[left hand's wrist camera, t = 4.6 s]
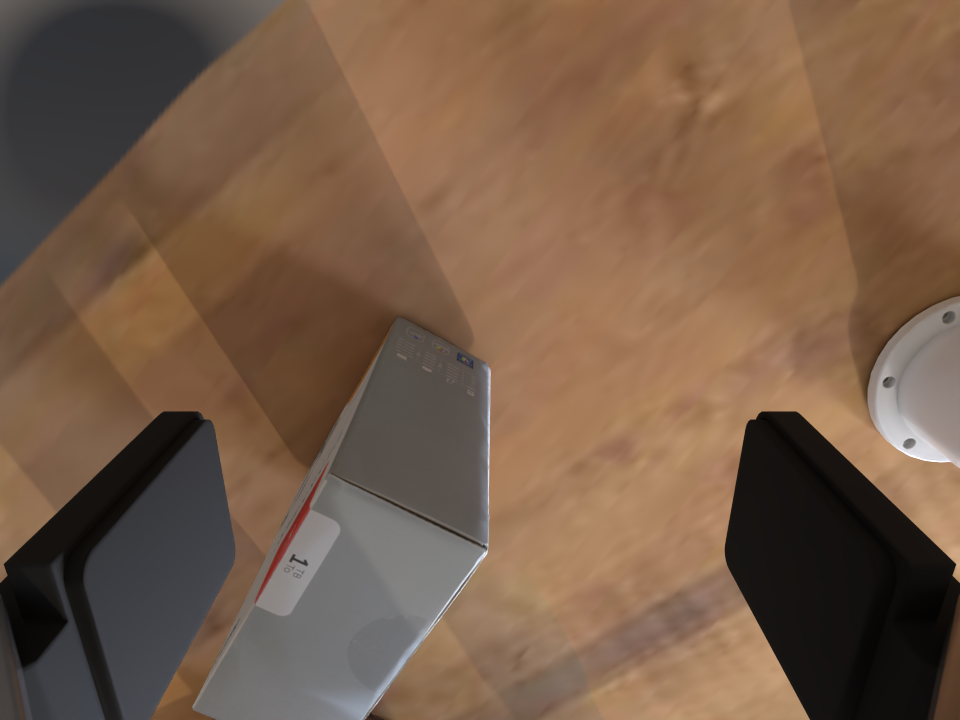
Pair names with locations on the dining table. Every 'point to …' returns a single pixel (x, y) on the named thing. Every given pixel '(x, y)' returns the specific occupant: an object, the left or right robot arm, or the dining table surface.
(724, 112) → the dining table surface
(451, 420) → the hard drive box
